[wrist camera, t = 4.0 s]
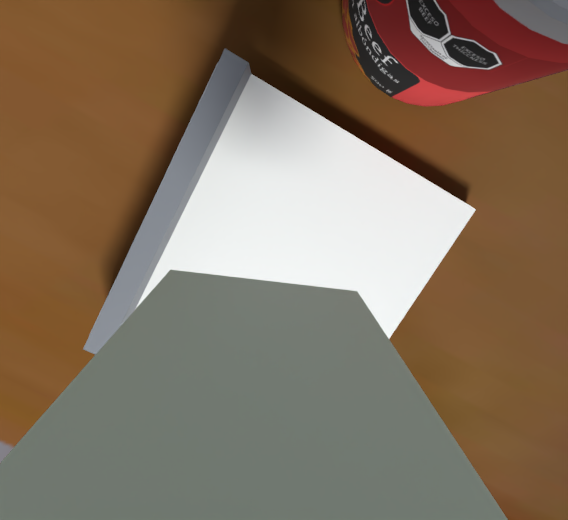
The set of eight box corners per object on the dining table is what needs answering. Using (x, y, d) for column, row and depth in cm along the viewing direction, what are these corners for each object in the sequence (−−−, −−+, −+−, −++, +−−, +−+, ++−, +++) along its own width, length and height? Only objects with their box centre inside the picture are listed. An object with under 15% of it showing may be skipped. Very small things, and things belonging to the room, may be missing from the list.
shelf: (465, 206, 19) (500, 215, 16) (323, 420, 22) (331, 460, 19) (230, 65, 17) (222, 46, 14) (108, 320, 20) (80, 348, 17)
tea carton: (357, 290, 8) (554, 589, 3) (315, 512, 10) (380, 1013, 4) (162, 268, 8) (-103, 546, 2) (149, 500, 10) (-32, 1020, 4)
